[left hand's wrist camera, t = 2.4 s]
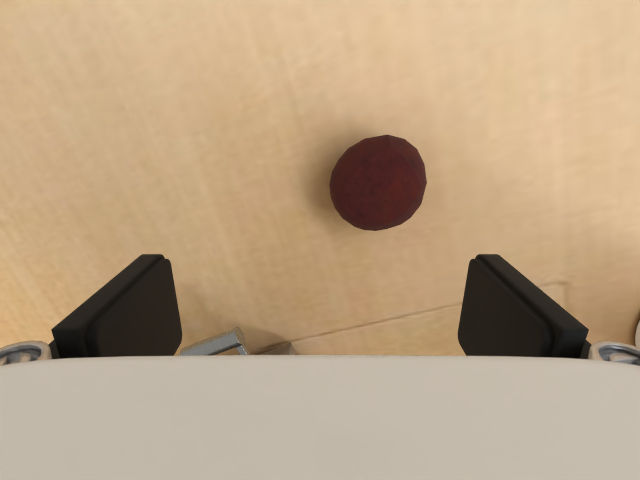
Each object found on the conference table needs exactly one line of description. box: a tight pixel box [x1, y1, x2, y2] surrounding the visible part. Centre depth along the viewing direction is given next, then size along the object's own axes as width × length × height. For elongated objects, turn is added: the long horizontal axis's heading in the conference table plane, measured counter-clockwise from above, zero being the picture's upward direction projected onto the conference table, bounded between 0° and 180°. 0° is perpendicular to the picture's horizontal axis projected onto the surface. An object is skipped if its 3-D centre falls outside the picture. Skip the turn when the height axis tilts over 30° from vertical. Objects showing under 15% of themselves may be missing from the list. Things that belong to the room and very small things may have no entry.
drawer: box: [180, 327, 295, 356], centre depth 34 cm, size 22×9×10 cm, turn 24°
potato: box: [330, 135, 427, 231], centre depth 28 cm, size 7×8×7 cm
